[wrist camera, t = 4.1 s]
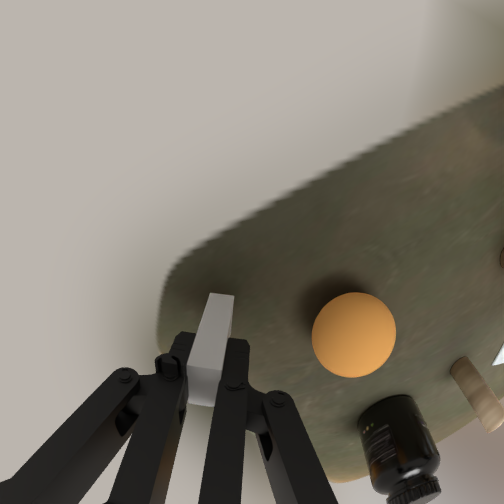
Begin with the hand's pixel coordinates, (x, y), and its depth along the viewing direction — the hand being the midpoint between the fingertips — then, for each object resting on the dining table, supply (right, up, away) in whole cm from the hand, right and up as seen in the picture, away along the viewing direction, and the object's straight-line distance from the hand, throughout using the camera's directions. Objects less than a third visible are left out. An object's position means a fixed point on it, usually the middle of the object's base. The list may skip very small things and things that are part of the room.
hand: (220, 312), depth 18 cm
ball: (+8, -1, -1) cm, 9 cm away
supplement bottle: (+16, -13, +6) cm, 22 cm away
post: (+24, -8, +4) cm, 25 cm away
